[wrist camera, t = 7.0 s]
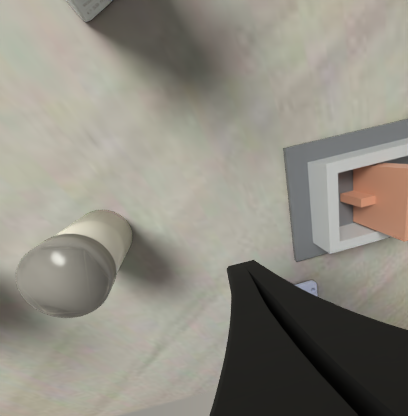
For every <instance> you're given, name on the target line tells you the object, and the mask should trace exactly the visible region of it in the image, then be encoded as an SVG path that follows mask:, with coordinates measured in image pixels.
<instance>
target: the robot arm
mask: <svg viewBox="0 0 408 416" xmlns="http://www.w3.org/2000/svg"><path fill="white" fill-rule="evenodd" d="M227 273H228V279H229V284H230V289H231V318H230V328H229V335H228V342H227V347H226V353H225V358H224V363H223V368H222V372H221V376H220V380H219V384H218V388H217V392H216V395H215V399H214V403H213V406H212V409H211V412H210V416H408V330H405V329H402V328H399V327H395V326H392V325H389V324H386V323H383V322H380V321H377V320H374V319H371V318H369V317H366V316H363V315H360V314H358V313H355V312H352V311H350V310H347V309H344V308H342V307H340V306H337V305H335V304H333V303H330V302H328V301H326V300H323V299H321V298H319V297H318V294H317V283H316V282H315V281H313V280H310V281H307V282H303V283H300V284H296V285H293V284H292V283H290V282H288V281H286V280H285V279H283V278H281V277H280V276H278V275H276V274H275V273H273V272H272V271H270V270H268V269H267V268H265V267H264V266H262V265H261V264H259V263H257V262H256V261H254V260H252V261H248V262H244V263H240V264H236V265H232V266H229V267H228V268H227Z"/></svg>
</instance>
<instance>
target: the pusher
mask: <svg viewBox="0 0 408 416" xmlns="http://www.w3.org/2000/svg"><path fill="white" fill-rule="evenodd" d="M340 201H341V202H344V203H348V204H351V205H353V222H356V223H358V224H361V225H363V226H366V227H369V228H371V229H374V230H376V231H379V232H381V233H384V234H386V235H389V236H392V237H394V238H397V239H399V240H402V241H408V164H397V163H376V164H372V165H368V166H364V167H360V168H356V169H353V191H349V192H345V193H341V194H340Z"/></svg>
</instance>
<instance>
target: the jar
mask: <svg viewBox="0 0 408 416" xmlns="http://www.w3.org/2000/svg"><path fill="white" fill-rule="evenodd" d="M131 243H132V230H131V227H130V225H129V224H128V222H127V221H126V220H125V219H124V218H123V217H122V216H120V215H119V214H117V213H115V212H112V211H109V210H95V211H92V212H89V213H87V214H86V215H84V216H83V217H81V218H80V219H78V220H77V221H75V222H74V223H73V224H71V225H70V226H68V227H67V228H65V229H64V230H62V231H61V232H60V233H58V234H57V235H55V236H53V237H51V238H49V239H47V240H45V241H44V242H42V243H41V244H39V245H38V246H36V247H35V248H33V249H32V250H30V251H29V252H28V253H27V254H25V255H24V257H23V258H22V259H21V261H20V262H19V264H18V267H17V270H16V284H17V287H18V290H19V292H20V294H21V295H22V297H23V298H24V299H25V301H26V302H27V303H28V304H30V305H31V306H32V307H33V308H35V309H36V310H38V311H40V312H42V313H45V314H47V315H50V316H54V317H61V318H73V317H79V316H83V315H86V314H88V313H91V312H93V311H94V310H96V309H97V308H98V307H100V306H101V305H102V304H103V303H104V301H105V300H106V298H107V296H108V294H109V292H110V290H111V288H112V286H113V284H114V282H115V279H116V274H117V272H118V270H119V268H120V266H121V264H122V262H123V260H124V258H125V256H126V254H127V252H128V250H129V248H130V246H131Z"/></svg>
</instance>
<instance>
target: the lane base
mask: <svg viewBox="0 0 408 416" xmlns="http://www.w3.org/2000/svg"><path fill="white" fill-rule="evenodd" d="M283 150H284V160H285V170H286V180H287V189H288V199H289V209H290V219H291V229H292V238H293V248H294V258H295V261H296V262H298V261H301V260H305V259H308V258H312V257H316V256H319V255H323V254H326V253H330V254H332V253H335V252H339V251H342V250H346V249H350V248H353V247H357V246H360V245H364V244H368V243H371V242H375V241H378V240H382V239H386V238H389V237H392V236H389V235H386V234H384V233H381V232H379V231H376V230H374V229H371V228H369V227H366V226H363V225H361V224H358V223H356V222H353V205H351V204H348V203H344V202H341V201H340V194H341V193H345V192H349V191H353V169H356V168H360V167H364V166H368V165H372V164H376V163H397V164H408V119H405V120H400V121H396V122H392V123H388V124H383V125H379V126H375V127H371V128H367V129H362V130H358V131H354V132H350V133H346V134H341V135H337V136H333V137H329V138H325V139H320V140H316V141H312V142H308V143H303V144H299V145H295V146H291V147H287V148H283Z"/></svg>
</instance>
